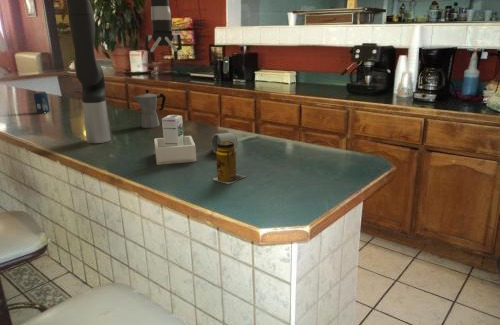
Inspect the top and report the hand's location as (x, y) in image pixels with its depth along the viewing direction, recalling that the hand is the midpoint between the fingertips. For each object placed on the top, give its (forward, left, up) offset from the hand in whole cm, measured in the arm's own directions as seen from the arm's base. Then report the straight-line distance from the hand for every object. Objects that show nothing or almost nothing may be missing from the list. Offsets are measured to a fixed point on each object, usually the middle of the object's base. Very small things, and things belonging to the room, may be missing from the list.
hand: (164, 61), depth 160 cm
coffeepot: (-7, +30, -33) cm, 45 cm away
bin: (0, -25, -33) cm, 41 cm away
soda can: (-68, +83, -33) cm, 112 cm away
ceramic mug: (+18, -22, -33) cm, 44 cm away
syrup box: (0, -25, -32) cm, 41 cm away
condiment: (+15, -52, -33) cm, 64 cm away
